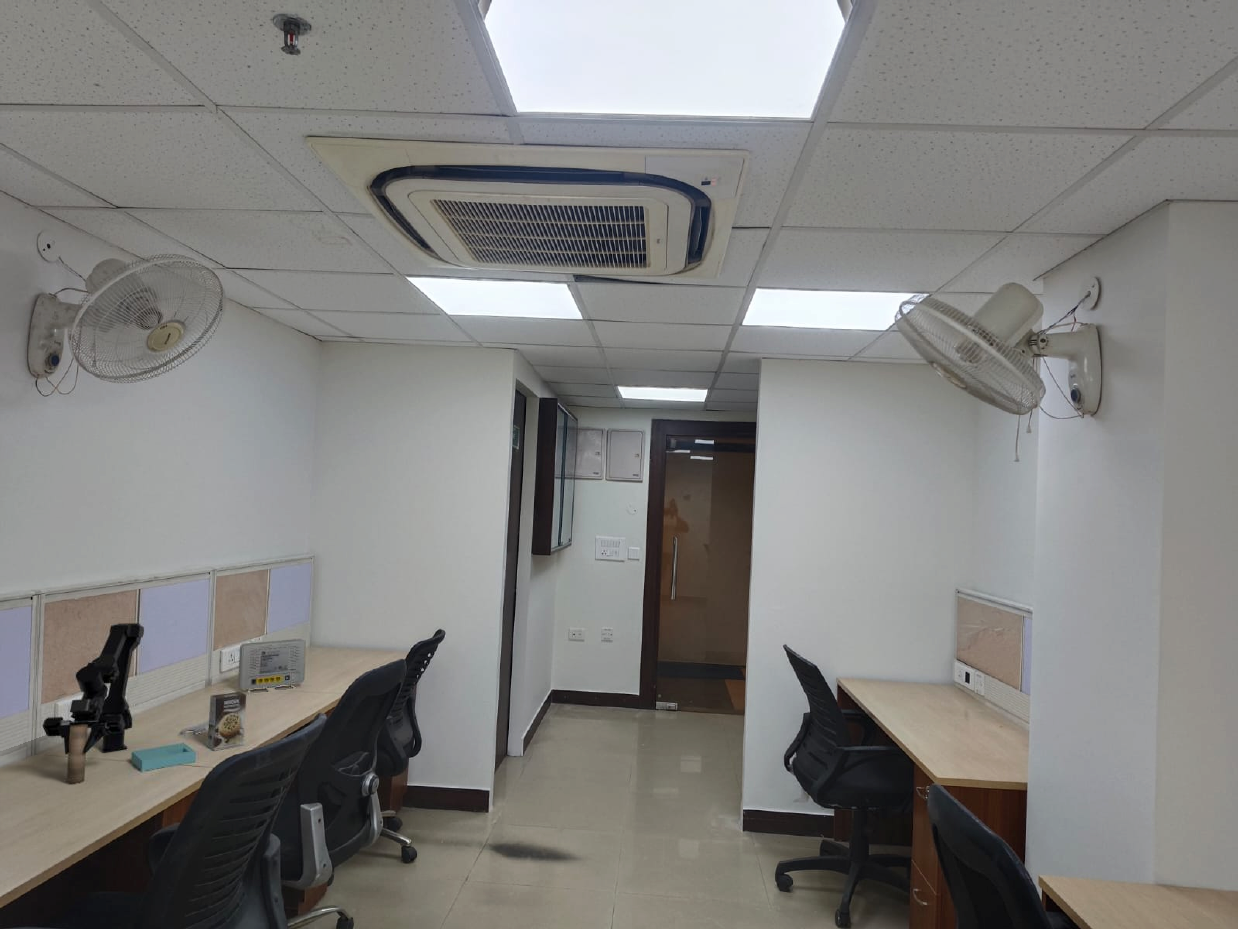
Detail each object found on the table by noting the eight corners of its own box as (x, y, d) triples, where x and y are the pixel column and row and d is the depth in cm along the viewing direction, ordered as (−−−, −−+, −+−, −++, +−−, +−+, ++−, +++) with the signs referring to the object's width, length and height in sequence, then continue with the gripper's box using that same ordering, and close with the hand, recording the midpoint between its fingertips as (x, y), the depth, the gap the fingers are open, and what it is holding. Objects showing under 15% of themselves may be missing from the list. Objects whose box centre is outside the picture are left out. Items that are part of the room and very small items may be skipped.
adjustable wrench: (224, 717, 288) (224, 712, 288) (240, 718, 287) (241, 713, 287) (177, 735, 263) (177, 730, 263) (195, 737, 262) (195, 731, 263)
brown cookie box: (214, 751, 246) (216, 698, 247) (206, 747, 250) (209, 695, 251) (244, 745, 252) (246, 694, 253) (236, 741, 257) (239, 691, 258)
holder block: (131, 762, 234) (131, 751, 234) (183, 752, 244) (183, 742, 244) (141, 771, 225) (142, 761, 226) (195, 762, 235) (195, 751, 235)
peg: (65, 781, 216) (68, 725, 217) (82, 778, 219) (86, 723, 220) (67, 785, 213) (71, 728, 214) (85, 782, 216) (89, 726, 217)
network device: (299, 684, 343) (301, 638, 344) (306, 688, 336) (308, 640, 337) (236, 692, 327) (238, 643, 328) (241, 696, 320) (244, 646, 321)
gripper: (47, 688, 219) (27, 739, 208) (124, 685, 224) (108, 735, 213) (56, 710, 226) (38, 761, 215) (130, 707, 231) (116, 756, 220)
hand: (75, 753), depth 215 cm, fingers closed on peg, 4 cm apart
